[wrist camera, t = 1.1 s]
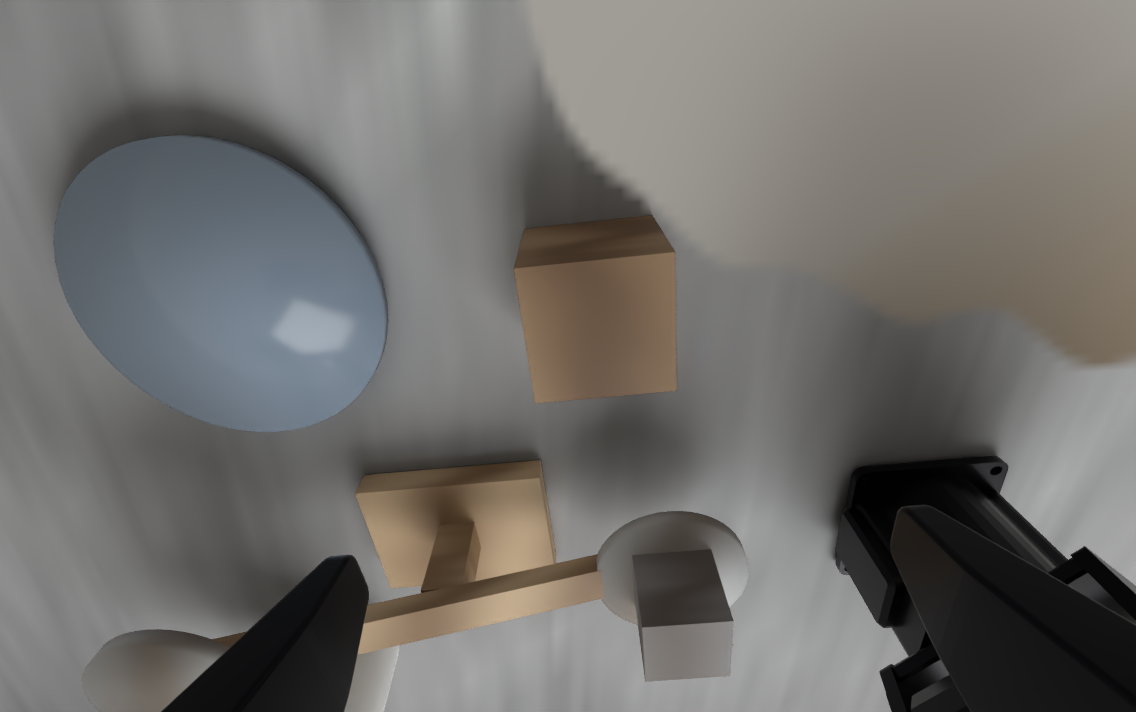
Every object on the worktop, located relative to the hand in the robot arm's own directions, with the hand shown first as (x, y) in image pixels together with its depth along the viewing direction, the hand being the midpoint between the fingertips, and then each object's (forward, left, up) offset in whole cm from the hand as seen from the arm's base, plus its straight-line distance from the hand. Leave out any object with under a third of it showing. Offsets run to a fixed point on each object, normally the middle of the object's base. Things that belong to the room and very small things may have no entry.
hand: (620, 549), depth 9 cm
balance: (+7, +11, -12) cm, 18 cm away
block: (0, 0, -13) cm, 13 cm away
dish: (+13, -1, -12) cm, 18 cm away
